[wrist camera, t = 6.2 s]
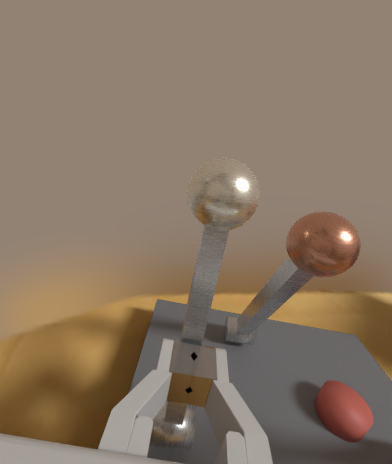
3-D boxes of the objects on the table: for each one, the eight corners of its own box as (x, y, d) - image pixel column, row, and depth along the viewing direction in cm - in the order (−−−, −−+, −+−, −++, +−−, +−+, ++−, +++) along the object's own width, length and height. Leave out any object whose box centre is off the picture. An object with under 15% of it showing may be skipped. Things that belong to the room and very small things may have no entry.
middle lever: (219, 348, 20) (313, 244, 9) (221, 314, 22) (300, 192, 11) (252, 354, 21) (390, 259, 9) (251, 320, 22) (363, 205, 11)
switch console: (83, 566, 11) (84, 524, 9) (153, 320, 26) (159, 287, 24) (520, 629, 12) (593, 599, 10) (344, 355, 27) (362, 324, 25)
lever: (136, 463, 12) (193, 147, 8) (148, 406, 15) (195, 153, 11) (194, 473, 12) (279, 164, 8) (195, 414, 15) (258, 166, 11)
